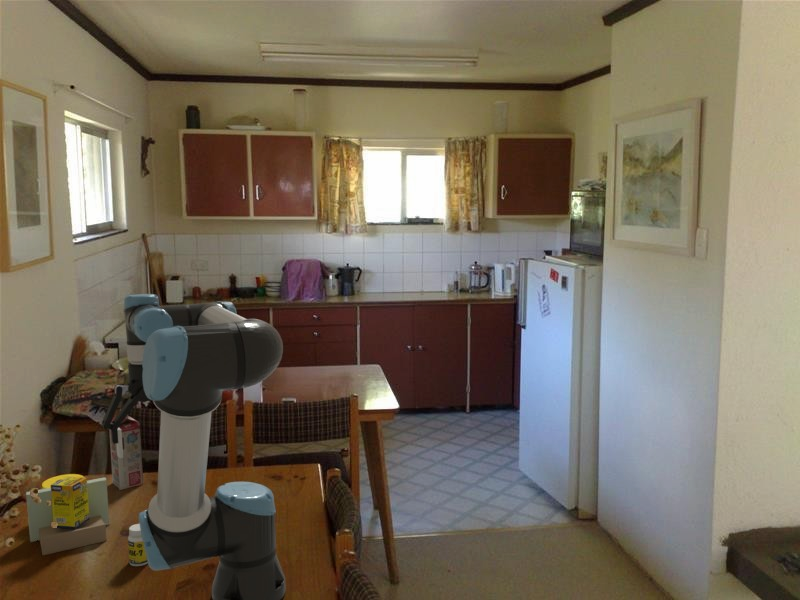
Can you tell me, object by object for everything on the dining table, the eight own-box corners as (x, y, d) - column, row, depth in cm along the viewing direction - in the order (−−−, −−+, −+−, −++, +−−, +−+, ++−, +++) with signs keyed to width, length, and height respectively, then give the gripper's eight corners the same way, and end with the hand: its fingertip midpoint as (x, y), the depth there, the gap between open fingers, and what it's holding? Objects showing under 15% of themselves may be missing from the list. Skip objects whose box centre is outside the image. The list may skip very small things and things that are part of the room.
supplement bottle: (125, 566, 159) (122, 531, 158) (135, 556, 164) (133, 521, 163) (144, 567, 159) (142, 532, 157) (155, 557, 163) (153, 522, 162)
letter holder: (115, 538, 172) (112, 492, 171) (33, 557, 163) (29, 508, 162) (108, 521, 182) (105, 477, 180) (29, 538, 173) (26, 492, 171)
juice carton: (135, 477, 211) (131, 406, 209) (143, 484, 206) (139, 411, 203) (112, 483, 207) (108, 410, 204) (120, 489, 202) (115, 415, 199)
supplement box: (75, 530, 168) (71, 486, 167) (53, 528, 169) (49, 484, 168) (90, 519, 174) (87, 476, 172) (69, 518, 175) (65, 475, 174)
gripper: (194, 352, 172) (198, 437, 174) (84, 365, 158) (90, 457, 160) (203, 356, 166) (208, 444, 168) (90, 370, 152) (96, 465, 154)
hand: (150, 450), depth 164 cm, fingers open, 13 cm apart
